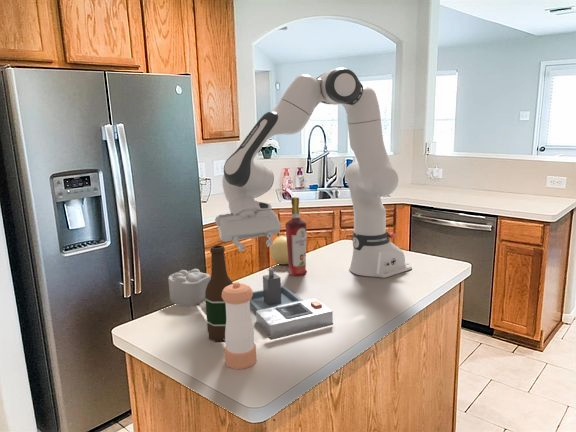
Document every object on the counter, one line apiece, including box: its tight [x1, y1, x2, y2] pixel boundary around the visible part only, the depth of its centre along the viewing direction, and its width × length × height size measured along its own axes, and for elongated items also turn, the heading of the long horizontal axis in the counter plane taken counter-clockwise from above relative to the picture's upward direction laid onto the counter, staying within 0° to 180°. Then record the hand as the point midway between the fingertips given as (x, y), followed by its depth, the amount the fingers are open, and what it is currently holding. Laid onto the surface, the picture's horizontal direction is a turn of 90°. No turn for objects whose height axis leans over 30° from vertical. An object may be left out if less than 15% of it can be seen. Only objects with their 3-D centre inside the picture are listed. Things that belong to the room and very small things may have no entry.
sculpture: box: [269, 234, 289, 265], centre depth 177 cm, size 12×12×11 cm
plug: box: [262, 267, 282, 306], centre depth 136 cm, size 4×4×10 cm
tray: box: [250, 285, 304, 313], centre depth 137 cm, size 14×14×2 cm
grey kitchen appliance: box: [255, 298, 334, 341], centre depth 123 cm, size 18×10×5 cm, turn 115°
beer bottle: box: [204, 244, 234, 343], centre depth 116 cm, size 8×8×24 cm
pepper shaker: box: [221, 281, 257, 370], centre depth 104 cm, size 7×7×19 cm
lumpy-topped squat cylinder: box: [168, 268, 211, 307], centre depth 144 cm, size 10×13×9 cm
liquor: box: [284, 196, 308, 277], centre depth 159 cm, size 7×7×28 cm
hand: (256, 247), depth 144 cm, fingers open, 8 cm apart
